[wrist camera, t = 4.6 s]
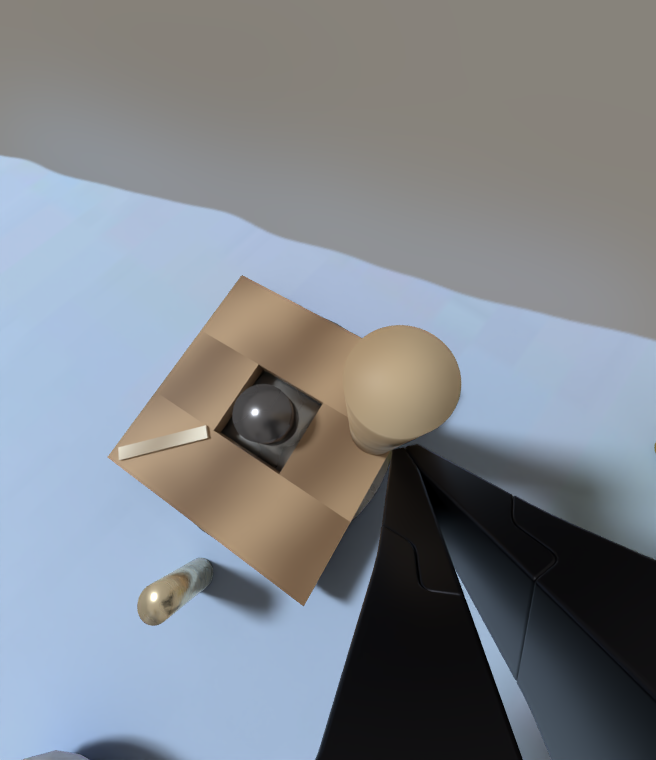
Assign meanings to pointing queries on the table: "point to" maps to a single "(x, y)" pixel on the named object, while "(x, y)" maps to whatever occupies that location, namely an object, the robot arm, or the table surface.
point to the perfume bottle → (57, 756)
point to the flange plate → (318, 444)
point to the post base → (271, 444)
